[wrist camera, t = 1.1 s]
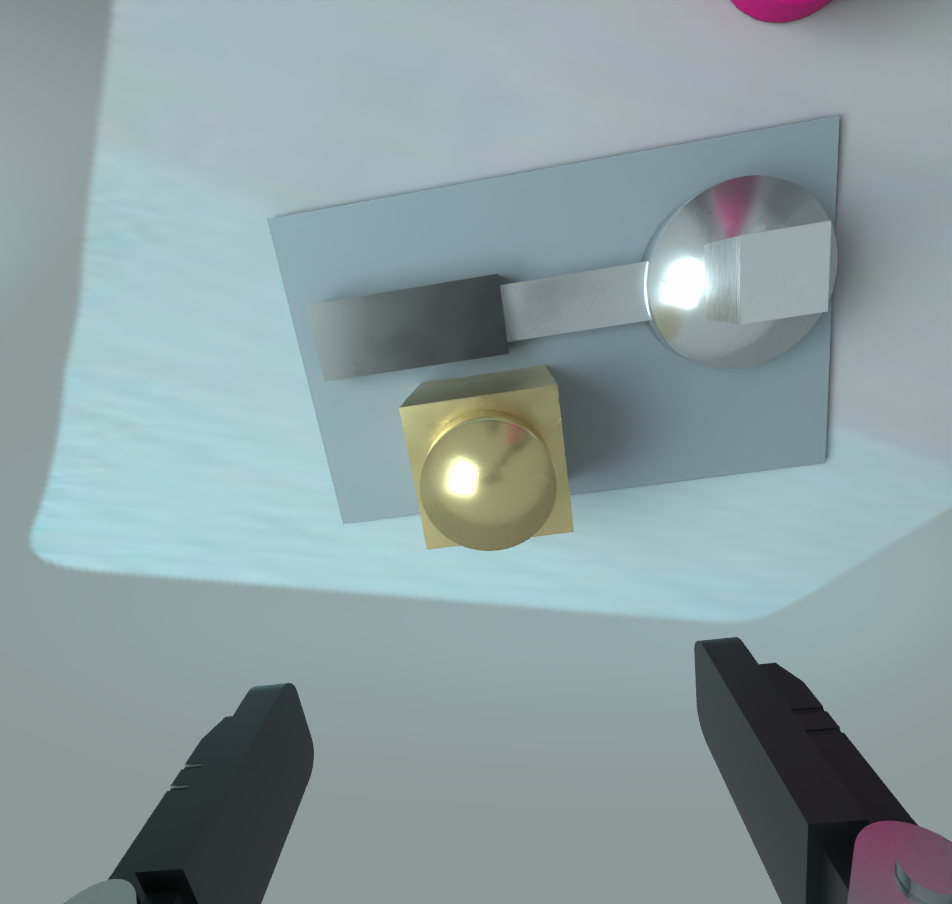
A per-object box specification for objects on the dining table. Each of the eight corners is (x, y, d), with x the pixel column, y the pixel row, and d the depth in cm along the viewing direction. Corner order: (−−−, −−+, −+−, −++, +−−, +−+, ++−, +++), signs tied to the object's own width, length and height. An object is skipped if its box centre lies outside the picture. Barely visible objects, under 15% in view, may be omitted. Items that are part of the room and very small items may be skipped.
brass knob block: (420, 383, 27) (388, 419, 19) (544, 364, 26) (563, 394, 18) (441, 497, 28) (420, 573, 21) (558, 482, 28) (580, 554, 20)
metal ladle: (307, 257, 25) (256, 248, 20) (814, 170, 23) (907, 133, 18) (344, 417, 27) (308, 446, 22) (808, 350, 25) (890, 365, 20)
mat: (270, 220, 25) (267, 219, 25) (833, 118, 23) (839, 115, 22) (345, 520, 29) (343, 523, 29) (820, 460, 27) (825, 462, 27)
